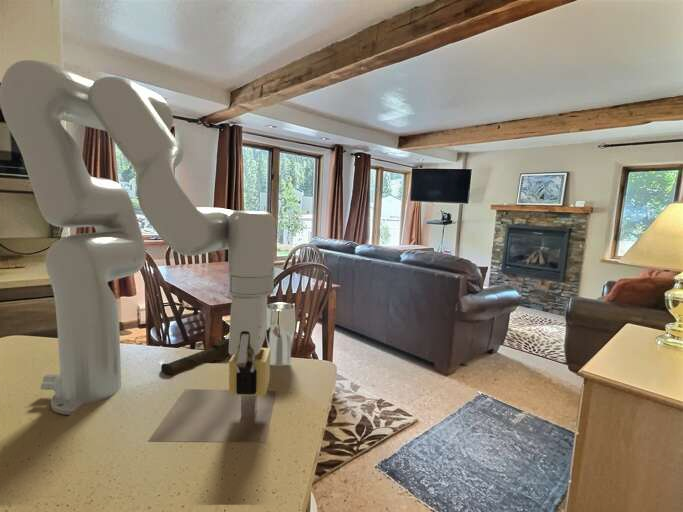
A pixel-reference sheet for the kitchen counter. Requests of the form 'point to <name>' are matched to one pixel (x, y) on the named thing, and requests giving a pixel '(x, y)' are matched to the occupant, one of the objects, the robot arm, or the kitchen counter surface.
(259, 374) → the collar
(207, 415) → the post board
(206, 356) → the hand tool
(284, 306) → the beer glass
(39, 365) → the kitchen counter surface
